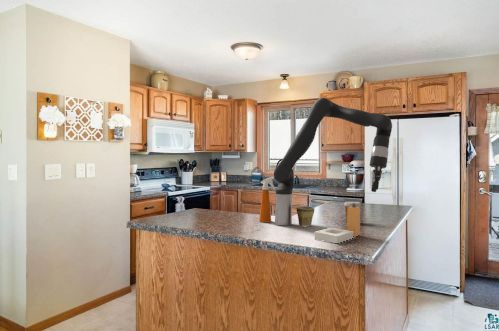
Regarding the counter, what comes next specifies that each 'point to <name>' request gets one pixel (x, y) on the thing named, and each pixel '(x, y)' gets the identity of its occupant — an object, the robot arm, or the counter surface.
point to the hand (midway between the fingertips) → (374, 190)
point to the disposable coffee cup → (349, 204)
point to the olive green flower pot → (305, 215)
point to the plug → (353, 219)
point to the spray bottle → (266, 200)
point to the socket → (334, 235)
